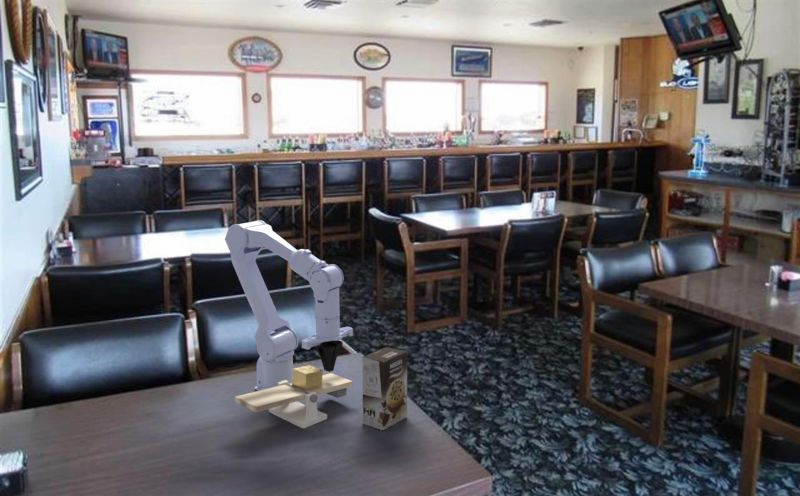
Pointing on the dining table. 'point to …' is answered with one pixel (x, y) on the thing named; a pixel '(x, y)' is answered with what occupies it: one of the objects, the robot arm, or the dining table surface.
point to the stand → (300, 410)
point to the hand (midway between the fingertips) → (328, 370)
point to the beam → (292, 393)
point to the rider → (307, 377)
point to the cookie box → (384, 388)
